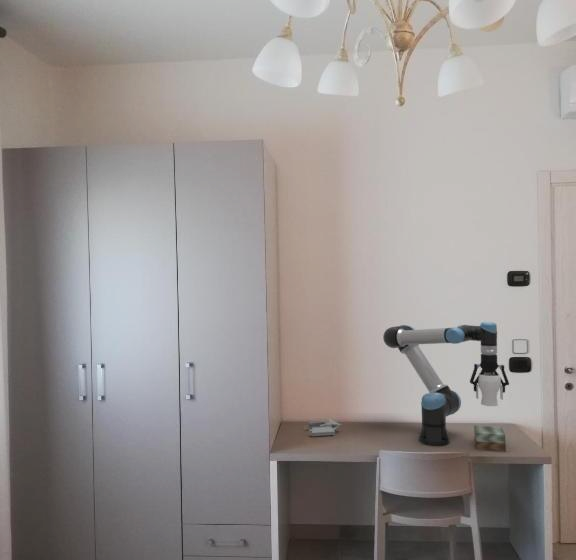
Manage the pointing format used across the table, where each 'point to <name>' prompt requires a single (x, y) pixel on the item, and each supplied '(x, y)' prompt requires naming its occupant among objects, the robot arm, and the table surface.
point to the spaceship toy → (323, 428)
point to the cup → (489, 388)
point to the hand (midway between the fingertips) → (489, 398)
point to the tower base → (490, 446)
